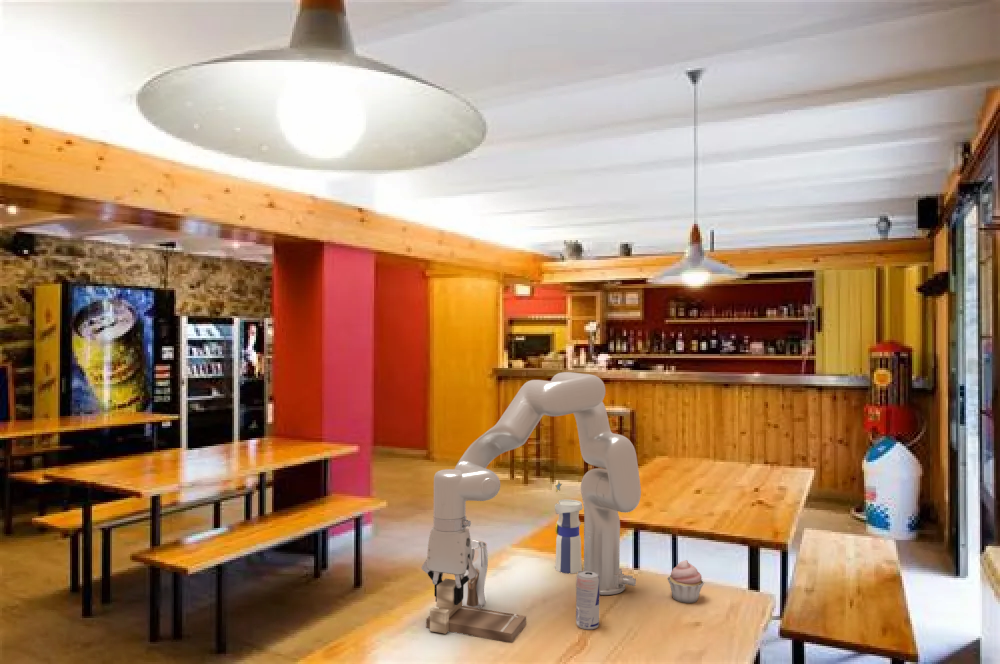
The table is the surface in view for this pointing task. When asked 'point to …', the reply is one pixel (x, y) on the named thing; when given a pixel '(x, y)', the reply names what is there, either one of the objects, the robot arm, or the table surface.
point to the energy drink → (587, 599)
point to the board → (485, 623)
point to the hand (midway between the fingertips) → (448, 600)
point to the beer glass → (476, 585)
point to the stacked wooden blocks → (443, 606)
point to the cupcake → (685, 582)
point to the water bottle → (568, 536)
